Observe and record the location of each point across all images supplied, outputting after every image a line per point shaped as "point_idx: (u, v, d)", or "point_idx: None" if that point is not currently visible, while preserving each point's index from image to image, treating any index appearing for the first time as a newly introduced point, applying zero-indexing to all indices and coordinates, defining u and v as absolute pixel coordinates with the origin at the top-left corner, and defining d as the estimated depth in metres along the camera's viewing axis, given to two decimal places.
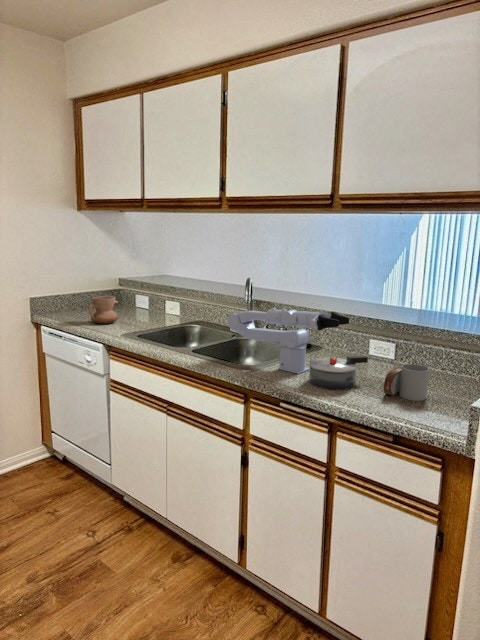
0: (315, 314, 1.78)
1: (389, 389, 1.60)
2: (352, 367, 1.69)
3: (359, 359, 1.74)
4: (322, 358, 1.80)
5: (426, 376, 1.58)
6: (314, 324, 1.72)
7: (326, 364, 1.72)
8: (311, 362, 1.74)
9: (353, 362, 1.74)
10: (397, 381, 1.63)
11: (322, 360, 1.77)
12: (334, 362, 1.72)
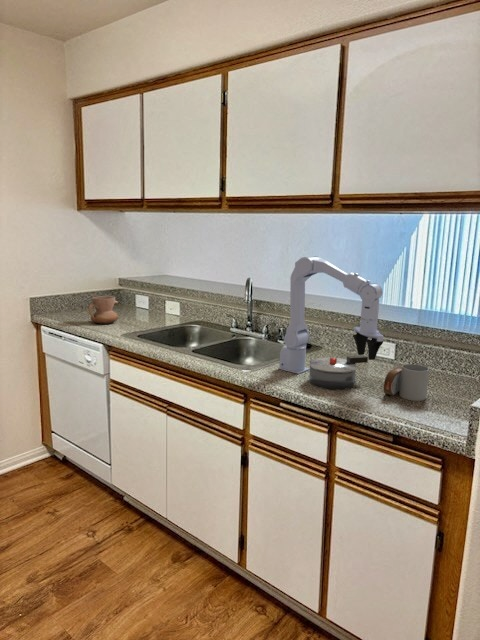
0: None
1: (389, 389, 1.60)
2: (352, 367, 1.69)
3: (359, 359, 1.74)
4: (322, 358, 1.80)
5: (426, 376, 1.58)
6: (379, 340, 1.62)
7: (326, 364, 1.72)
8: (311, 362, 1.74)
9: (353, 362, 1.74)
10: (397, 381, 1.63)
11: (322, 360, 1.77)
12: (334, 362, 1.72)
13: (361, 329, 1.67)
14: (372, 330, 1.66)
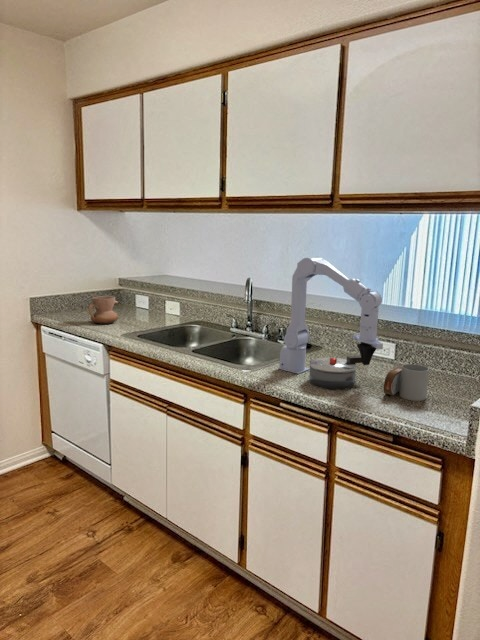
0: (376, 335, 1.68)
1: (389, 389, 1.60)
2: (352, 367, 1.69)
3: (359, 359, 1.74)
4: (322, 358, 1.80)
5: (426, 376, 1.58)
6: (379, 348, 1.62)
7: (326, 364, 1.72)
8: (311, 362, 1.74)
9: (353, 362, 1.74)
10: (397, 381, 1.63)
11: (322, 360, 1.77)
12: (334, 362, 1.72)
13: (360, 337, 1.68)
14: (371, 338, 1.66)
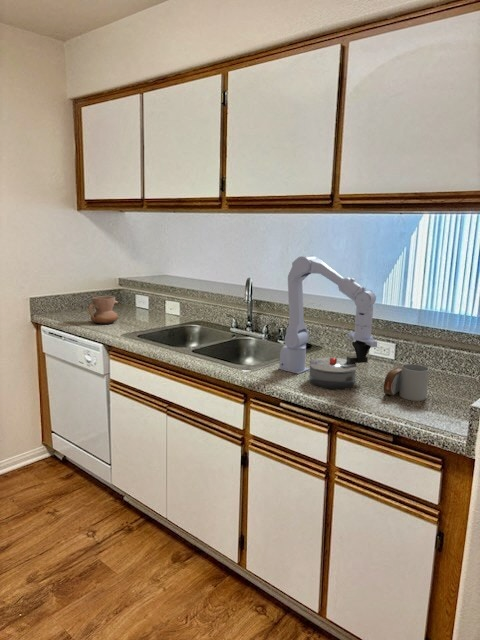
0: None
1: (389, 389, 1.60)
2: (352, 367, 1.69)
3: None
4: (322, 358, 1.80)
5: (426, 376, 1.58)
6: (373, 346, 1.65)
7: (326, 364, 1.72)
8: (311, 362, 1.74)
9: (353, 362, 1.74)
10: (397, 381, 1.63)
11: (322, 360, 1.77)
12: (334, 362, 1.72)
13: (355, 335, 1.71)
14: (366, 336, 1.69)
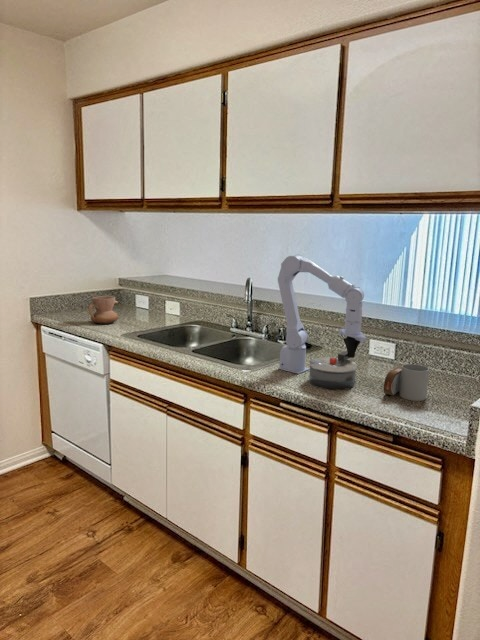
0: (360, 329, 1.76)
1: (389, 389, 1.60)
2: (353, 364, 1.73)
3: None
4: (314, 360, 1.77)
5: (426, 376, 1.58)
6: (362, 341, 1.71)
7: (331, 365, 1.70)
8: (316, 366, 1.69)
9: (345, 359, 1.78)
10: (397, 381, 1.63)
11: (318, 361, 1.75)
12: (336, 362, 1.72)
13: (346, 331, 1.76)
14: (356, 332, 1.75)
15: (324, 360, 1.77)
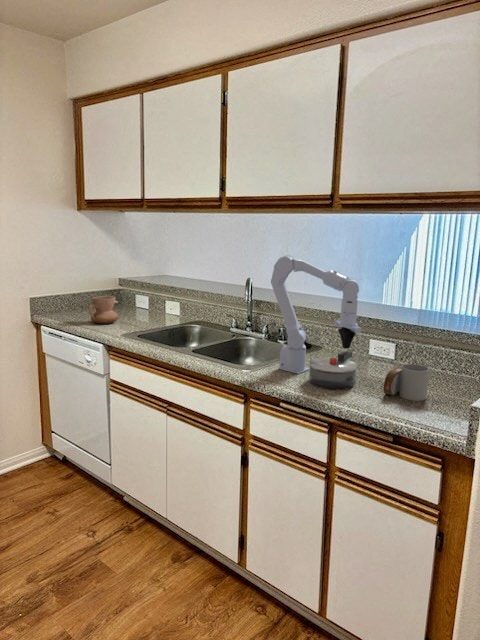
0: (355, 321, 1.80)
1: (389, 389, 1.60)
2: (353, 364, 1.73)
3: (348, 355, 1.79)
4: (314, 360, 1.77)
5: (426, 376, 1.58)
6: (357, 332, 1.74)
7: (331, 365, 1.70)
8: (316, 366, 1.69)
9: (345, 359, 1.78)
10: (397, 381, 1.63)
11: (318, 361, 1.75)
12: (336, 362, 1.72)
13: (341, 322, 1.80)
14: (351, 323, 1.78)
15: (324, 360, 1.77)
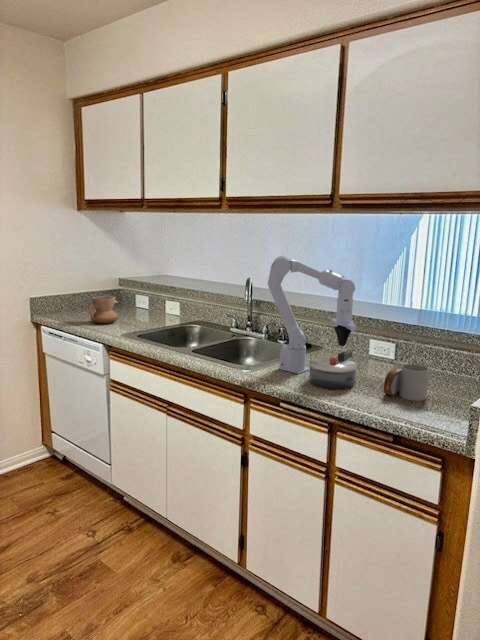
0: (351, 319, 1.83)
1: (389, 389, 1.60)
2: (353, 364, 1.73)
3: (348, 355, 1.79)
4: (314, 360, 1.77)
5: (426, 376, 1.58)
6: (353, 329, 1.77)
7: (331, 365, 1.70)
8: (316, 366, 1.69)
9: (345, 359, 1.78)
10: (397, 381, 1.63)
11: (318, 361, 1.75)
12: (336, 362, 1.72)
13: (337, 320, 1.83)
14: (347, 321, 1.81)
15: (324, 360, 1.77)
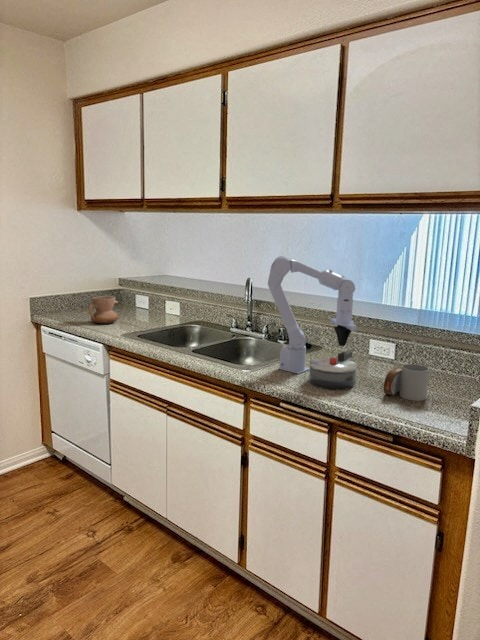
0: (351, 319, 1.83)
1: (389, 389, 1.60)
2: (353, 364, 1.73)
3: (348, 355, 1.79)
4: (314, 360, 1.77)
5: (426, 376, 1.58)
6: (353, 329, 1.77)
7: (331, 365, 1.70)
8: (316, 366, 1.69)
9: (345, 359, 1.78)
10: (397, 381, 1.63)
11: (318, 361, 1.75)
12: (336, 362, 1.72)
13: (337, 320, 1.83)
14: (347, 321, 1.81)
15: (324, 360, 1.77)
